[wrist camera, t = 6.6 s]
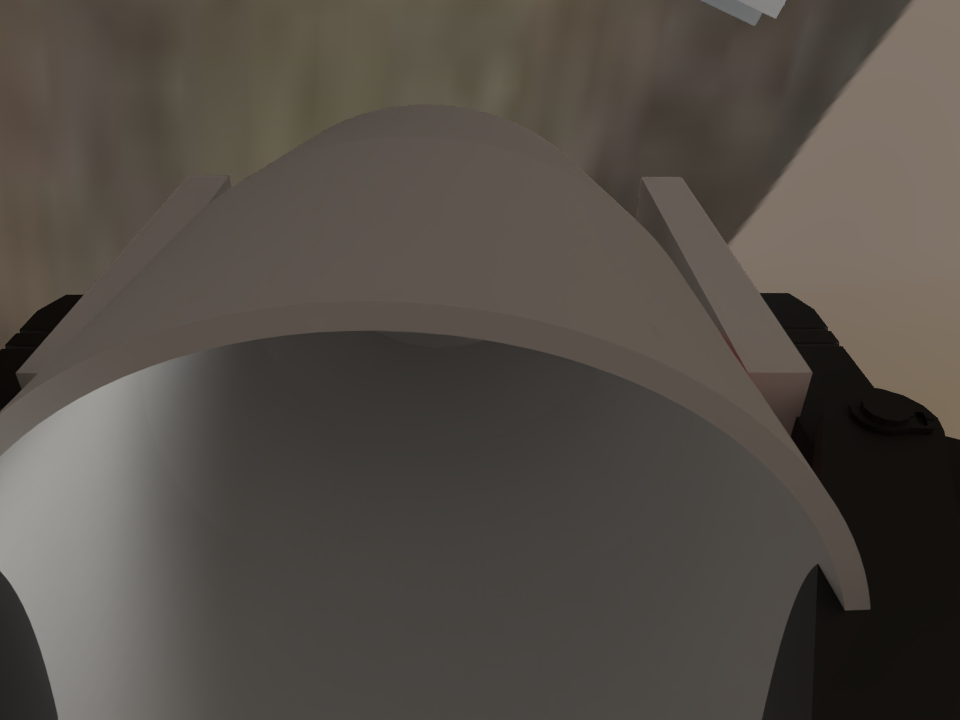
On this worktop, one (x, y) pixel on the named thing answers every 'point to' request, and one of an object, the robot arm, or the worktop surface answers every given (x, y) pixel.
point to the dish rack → (748, 8)
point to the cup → (410, 458)
